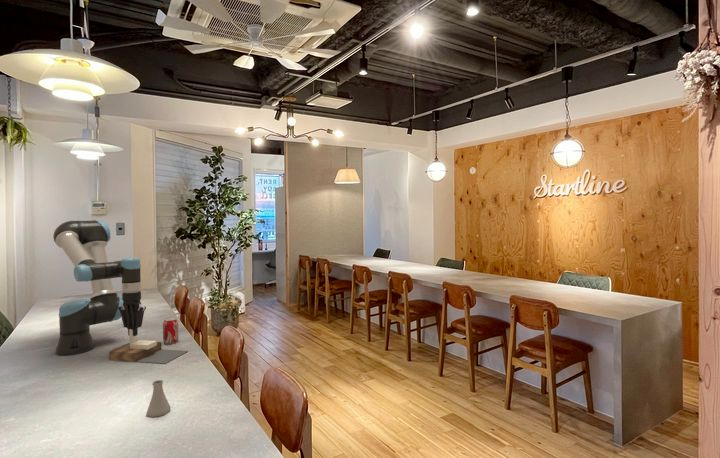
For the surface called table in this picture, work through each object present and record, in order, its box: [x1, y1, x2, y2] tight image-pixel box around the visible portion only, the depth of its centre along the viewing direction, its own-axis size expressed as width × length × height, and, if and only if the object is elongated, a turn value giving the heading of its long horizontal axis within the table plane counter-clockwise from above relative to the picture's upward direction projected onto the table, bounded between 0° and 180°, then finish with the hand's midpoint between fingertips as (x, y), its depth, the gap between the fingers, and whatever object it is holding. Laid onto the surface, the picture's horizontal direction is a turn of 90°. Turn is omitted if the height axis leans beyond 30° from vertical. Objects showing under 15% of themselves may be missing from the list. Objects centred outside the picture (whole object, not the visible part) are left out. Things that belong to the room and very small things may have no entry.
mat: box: [136, 348, 189, 365], centre depth 181 cm, size 14×16×1 cm
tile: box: [130, 339, 158, 350], centre depth 183 cm, size 9×6×2 cm, turn 79°
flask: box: [145, 379, 171, 418], centre depth 130 cm, size 7×7×10 cm
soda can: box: [162, 317, 179, 345], centre depth 202 cm, size 7×7×12 cm
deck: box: [108, 339, 162, 363], centre depth 184 cm, size 14×16×4 cm
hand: (133, 342), depth 184 cm, fingers closed
